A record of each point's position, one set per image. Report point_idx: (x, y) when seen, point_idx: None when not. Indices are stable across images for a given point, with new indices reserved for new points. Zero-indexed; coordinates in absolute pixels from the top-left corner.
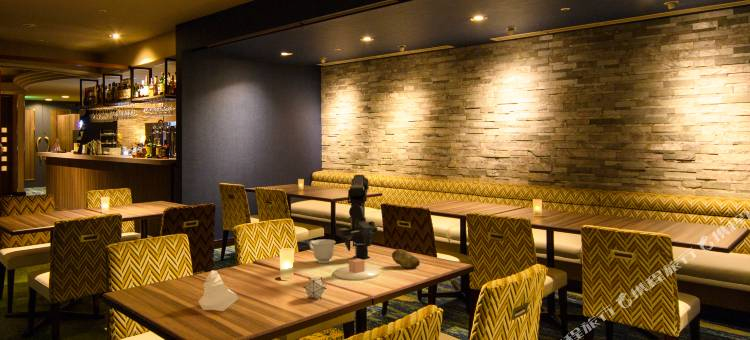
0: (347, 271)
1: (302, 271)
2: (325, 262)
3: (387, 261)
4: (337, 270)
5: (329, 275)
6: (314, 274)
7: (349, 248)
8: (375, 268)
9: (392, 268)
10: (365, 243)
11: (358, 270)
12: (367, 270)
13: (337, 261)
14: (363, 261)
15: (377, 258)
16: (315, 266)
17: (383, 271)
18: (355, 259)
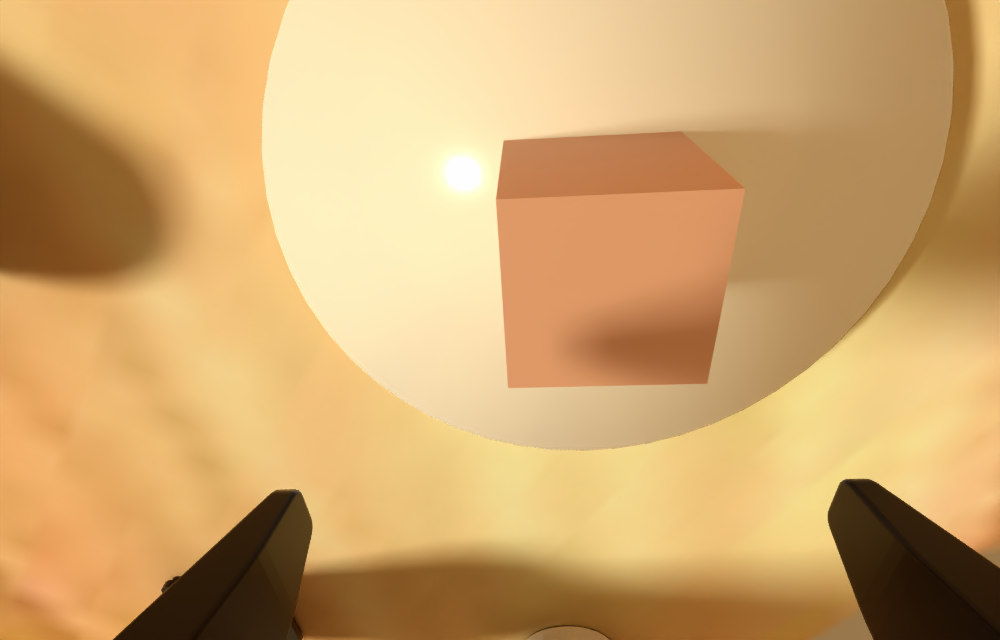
0: None
1: None
2: (579, 631)
3: (23, 435)
4: (746, 381)
5: (875, 335)
6: (939, 442)
7: (936, 530)
8: (277, 191)
9: (13, 162)
10: (254, 627)
11: (626, 143)
12: (434, 165)
13: (468, 619)
14: (523, 191)
15: (104, 544)
16: (707, 602)
17: (187, 96)
18: (590, 355)
